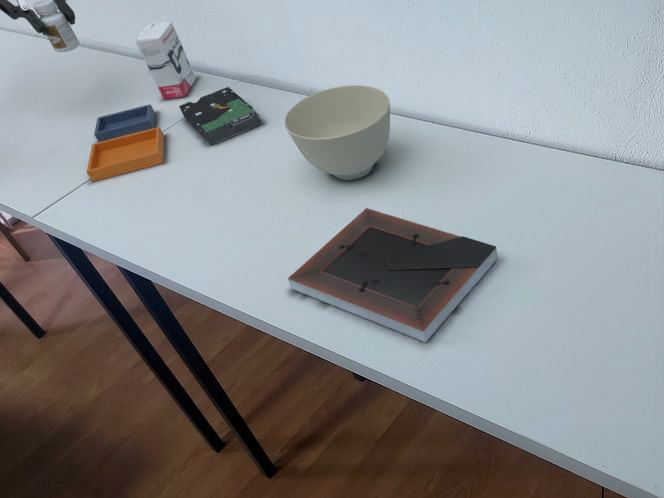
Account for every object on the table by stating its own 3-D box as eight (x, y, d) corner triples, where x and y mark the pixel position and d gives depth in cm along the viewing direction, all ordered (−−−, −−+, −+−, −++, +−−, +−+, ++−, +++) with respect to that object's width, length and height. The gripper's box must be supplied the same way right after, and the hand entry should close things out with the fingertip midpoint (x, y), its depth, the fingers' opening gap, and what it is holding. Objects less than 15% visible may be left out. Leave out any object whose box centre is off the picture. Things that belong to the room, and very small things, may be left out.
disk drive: (184, 120, 122) (210, 146, 113) (177, 106, 120) (203, 132, 111) (233, 99, 126) (263, 124, 117) (227, 85, 124) (257, 109, 115)
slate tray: (99, 144, 120) (93, 134, 118) (103, 127, 124) (97, 117, 123) (154, 130, 121) (149, 120, 119) (155, 113, 126) (150, 104, 124)
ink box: (186, 97, 129) (158, 37, 120) (162, 100, 129) (133, 40, 121) (197, 78, 135) (171, 19, 126) (174, 81, 135) (147, 23, 126)
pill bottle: (50, 52, 116) (24, 7, 111) (69, 42, 119) (44, -3, 113) (66, 54, 115) (40, 8, 109) (85, 43, 117) (60, -2, 112)
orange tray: (92, 181, 110) (86, 171, 109) (98, 153, 117) (92, 143, 115) (163, 163, 112) (158, 152, 110) (164, 136, 118) (159, 126, 117)
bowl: (402, 190, 97) (388, 129, 89) (299, 205, 97) (277, 146, 90) (402, 136, 108) (390, 78, 100) (309, 150, 108) (290, 93, 101)
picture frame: (498, 260, 83) (370, 220, 92) (496, 245, 81) (366, 206, 90) (426, 345, 74) (293, 291, 84) (422, 330, 72) (287, 277, 82)
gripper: (-59, -62, 104) (16, 29, 106) (27, -88, 110) (95, -2, 113) (-46, -30, 110) (24, 54, 113) (33, -56, 117) (98, 24, 119)
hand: (59, 26), depth 113 cm, fingers closed on pill bottle, 4 cm apart
